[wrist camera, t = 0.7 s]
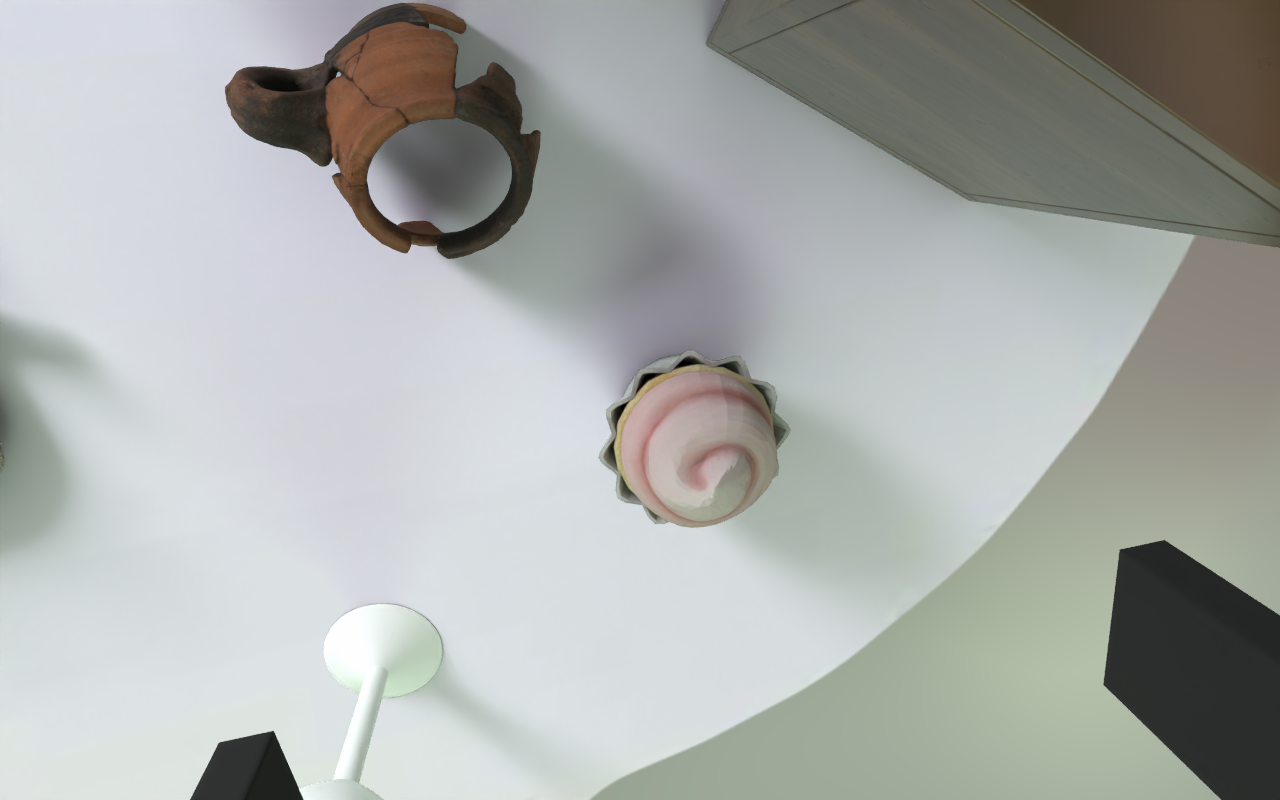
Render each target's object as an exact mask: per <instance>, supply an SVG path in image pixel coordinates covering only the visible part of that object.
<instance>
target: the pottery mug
mask: <svg viewBox="0 0 1280 800" xmlns="http://www.w3.org/2000/svg"><path fill="white" fill-rule="evenodd" d="M429 24H434V25H438V26H441V27H444V28H446V29H449V30H452V31H454V32H457V33H459V34H463V33H464V32H465V30H466V23H465V22H464V20H463V19H461V18H459V17H457V16H456V15H455V14H453V13H452V12H450V11H447V10H445V9H442V8H439V7H436V6H432V5H427V4H419V3H399V4H393V5H390V6H387V7H383V8H380V9H378V10H376V11H374V12H372V13H371V14H369V15H367V16H366V17H364V18H363V19H362V20H361V21H359V22H358V23H357V24H356V25H355V26H354V27H353V28H352V29H351V31H350V32H349V33H348V34H347V35H345V36H344V37H343V38H342V39H341V40H340V41H339V42H338V43H337V44H336V45H335V46H334V47H333V48H332V49H331V50H329V51H328V52H327V53H326V54H325V60H324V62H323V63H321V64H318V65H315V66H313V67H310V68H305V69H298V70H291V69H285V68H275V67H265V66H263V67H247V68H243V69H241V70H239V71H238V72H236V74H235V75H234V77H233V79H232V80H231V82H230V83H229V84H228V85H227V86H226V87H225V94H226V100H227V104H228V106H229V108H230V109H231V115H232V117H233V119H234V120H235V121H236V123H237V124H238V126H239V127H240V128H241V129H242V130H243V131H244V132H245V133H246V134H248V135H249V136H251V137H253V138H254V139H256V140H259V141H262V142H264V143H267V144H270V145H273V146H276V147H280V148H288V149H293V150H297V151H299V152H302V153H303V154H305V155H307V156H308V157H309V158H310V159H311V160H312V161H313V162H315V163H316V164H318V165H319V166H327V165H329V163H330V162H331V160H332V158H333V157H334V161H335V163H336V164H337V165H338V166H339V169H340V172H341V173H336V174H334V175H333V176H332V178H333V181H334V183H335V185H336V186H337V188H338V189H339V191H340V193H341V194H342V195H343V197H344V198H345V199H346V201H347V202H348V203H349V205H350V206H351V207H352V209H353V211H354V213H355V215H356V217H357V219H358V220H359V222H360V223H361V225H362V226H363V227H364V228H365V229H366V230H367V231H368V232H369V233H370V234H371V235H372V236H373V237H375V238H376V239H377V240H378V241H379V242H381V243H382V244H384V245H386V246H388V247H390V248H392V249H394V250H397V251H399V252H402V253H408V251H409V249H410V247H411V244H414V245H418V246H437V249H438V252H439V253H440V254H441V255H443V256H444V257H446V258H448V259H454V258H458V257H463V256H466V255H470V254H472V253H474V252H477V251H479V250H482V249H485V248H487V247H488V246H490V245H492V244H494V243H495V242H497V241H498V240H499V239H500V238H502V237H503V236H504V235H505V234H506V233H507V232H508V231H509V230H510V229H511V226H512V225H514V224H515V223H516V222H517V221H518V219H519V218H520V217H521V216H522V215H523V213H524V210H525V207H526V206H527V203H528V201H529V199H530V196H531V192H532V184H533V177H534V172H535V168H536V163H537V159H538V154H539V149H540V134H541V133H540V131H538V130H534V131H533V132H532V133H531V134H520V129H521V124H522V119H523V118H522V107H521V104H520V101H519V99H518V97H517V95H516V92H515V91H516V86H515V81H514V79H513V78H512V76H511V75H510V74H509V73H508V72H507V71H506V70H505V69H504V68H503V67H502V66H500V65H499V64H498V63H495V62H492V63H491V64H490V65H489V67H488V70H487V75H484V76H482V77H479V78H478V79H477V80H475V81H474V82H472V83H470V84H468V85H465V86H462V87H460V88H457V89H456V88H455V86H454V83H455V76H456V72H455V68H456V59H457V54H458V45H457V44H456V43H454V41H453V39H452V38H451V37H450V36H449V35H448V34H447V33H445V32H443V31H438V30H431V29H429ZM338 71H339V72H340V73H342V75H341V76H340V77H336V75H337V72H338ZM454 118H459V119H461V120H463V121H466V122H469V123H472V124H475V125H477V126H479V127H481V128H483V129H485V130H486V131H488V132H489V133H490V134H492V135H493V136H494V137H495V138H496V139H497V140H498V141H499V142H500V143H501V144H502V146H503V147H504V149H505V150H506V152H507V153H508V156H509V157H510V161H511V166H512V180H511V184H510V188H509V191H508V193H507V195H506V197H505V199H504V200H503V202H502V203H501V204H500V206H499V207H498V208H497V209H496V210H495V211H494V212H493V213H492V214H491V215H490V216H488V217H487V218H486V219H484V220H483V221H481V222H480V223H478V224H476V225H475V226H472V227H470V228H467V229H465V230H462V231H458V232H450V233H442V232H441V231H440V230H439V229H438V228H437V227H435V226H434V225H433V224H432V223H430V222H427V221H412V222H404V223H400V224H398V225H396V224H394V223H392V222H391V221H389V220H388V219H387V218H386V217H384V216H383V215H382V214H381V213H380V212H379V211H378V209H377V208H376V207H375V205H374V203H373V201H372V200H371V197H370V194H369V189H368V184H367V173H368V169H369V165H370V163H371V161H372V158H373V157H374V155H375V153H376V152H377V150H378V149H379V148H380V146H381V145H382V144H383V143H384V142H385V141H386V140H387V139H388V138H390V137H391V136H392V135H393V134H395V133H396V132H398V131H399V130H401V129H403V128H405V127H407V126H408V125H410V124H415V123H417V122H421V121H425V120H432V119H454Z"/></svg>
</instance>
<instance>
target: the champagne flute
mask: <svg viewBox="0 0 1280 800" xmlns="http://www.w3.org/2000/svg"><path fill="white" fill-rule="evenodd" d="M324 659H325V662H326V665H327V667H328V669H329V671H330V672H331V674H332V675H333V676H334V677H335V678H336V680H337V681H338V682H339V683H341V684H342V685H344V686H345V687H346V688H348V689H350V690H352V691H354V692H356V693H359V694H360V695H359V699H358V702H357V705H356V708H355V711H354V715H353V718H352V721H351V724H350V727H349V731H348V734H347V737H346V740H345V743H344V747H343V750H342V753H341V756H340V759H339V763H338V766H337V769H336V772H335V776H334V779H333V780H329V781H324V782H319V783H314V784H310V785H308V786H305V787H302V788H300V789H299V790H300V792H301V795H302V797H303V799H304V800H383V799H382V798H381V797H380V796H379V795H378V794H376V793H375V792H373V791H371V790H370V789H368V788H366V787H365V786H363V785H361V784H359V781H360V777H361V774H362V770H363V766H364V763H365V759H366V755H367V751H368V748H369V744H370V740H371V737H372V733H373V729H374V726H375V722H376V718H377V714H378V711H379V707H380V703H381V700H382V698H388V697H396V696H402V695H405V694H408V693H410V692H413V691H415V690H417V689H418V688H420V687H422V686H423V685H424V684H426V683H427V682H428V681H429V680H430V679H431V678H432V677H433V676H434V674H435V673H436V671H437V669H438V667H439V666H440V663H441V659H442V644H441V640H440V637H439V635H438V633H437V631H436V629H435V628H434V627H433V625H432V624H431V623H430V622H429V621H428V620H427V619H426V618H424V617H423V616H422V615H421V614H419V613H417V612H415V611H413V610H411V609H408V608H405V607H402V606H398V605H392V604H373V605H367V606H363V607H360V608H357V609H354V610H352V611H350V612H349V613H347V614H345V615H343V616H342V617H341V618H340V619H339V620H338V621H336V622H335V624H334V625H333V626H332V627H331V629H330V630H329V632H328V634H327V636H326V639H325V643H324Z"/></svg>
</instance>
